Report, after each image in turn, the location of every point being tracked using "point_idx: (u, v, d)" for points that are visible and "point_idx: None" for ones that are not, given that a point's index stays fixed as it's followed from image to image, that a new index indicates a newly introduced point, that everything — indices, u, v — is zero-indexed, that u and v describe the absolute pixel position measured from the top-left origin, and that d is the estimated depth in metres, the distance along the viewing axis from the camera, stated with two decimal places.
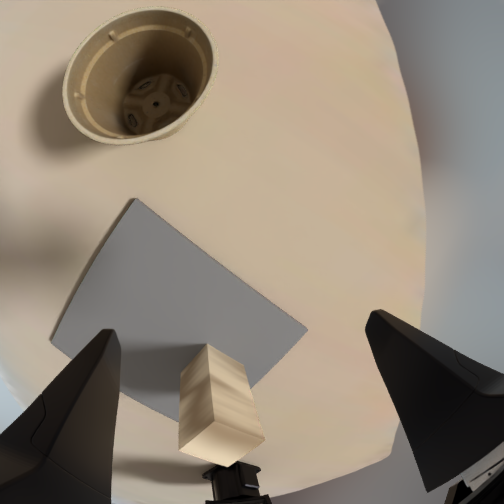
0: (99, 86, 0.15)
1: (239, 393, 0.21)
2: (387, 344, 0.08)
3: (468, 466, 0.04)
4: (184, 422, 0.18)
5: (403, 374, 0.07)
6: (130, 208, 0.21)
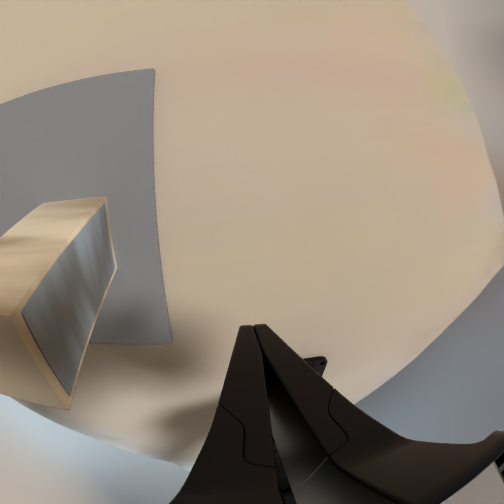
0: None
1: (38, 239, 0.09)
2: None
3: None
4: None
5: (273, 405, 0.07)
6: None
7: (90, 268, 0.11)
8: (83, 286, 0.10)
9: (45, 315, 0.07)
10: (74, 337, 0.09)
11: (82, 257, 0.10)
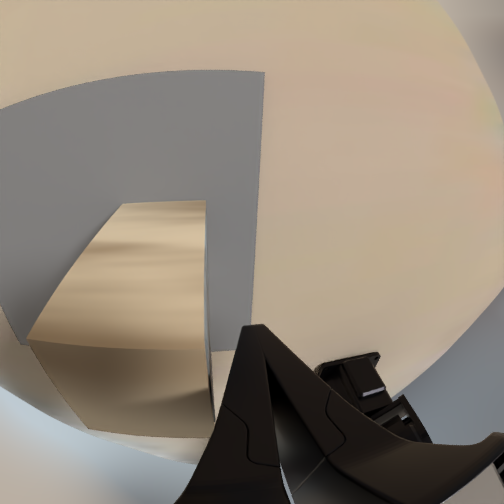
0: None
1: (159, 247, 0.09)
2: None
3: None
4: None
5: (271, 406, 0.07)
6: None
7: (207, 277, 0.12)
8: None
9: None
10: (210, 356, 0.09)
11: None
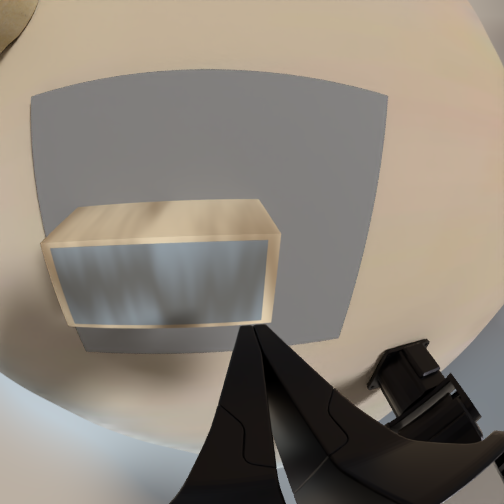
0: None
1: (147, 222, 0.11)
2: None
3: None
4: None
5: (273, 405, 0.07)
6: (32, 111, 0.10)
7: (180, 286, 0.11)
8: (154, 291, 0.11)
9: (73, 268, 0.10)
10: (108, 308, 0.11)
11: (165, 268, 0.11)
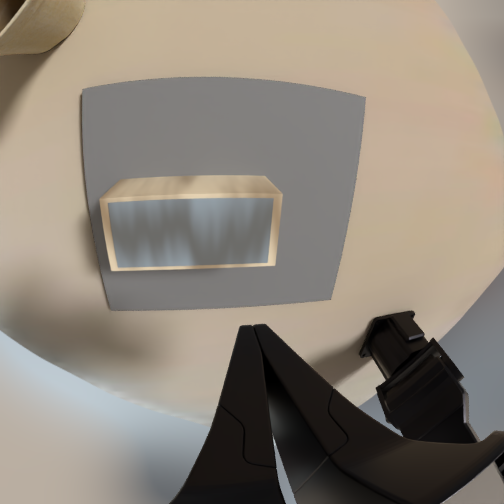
0: None
1: (184, 186, 0.15)
2: None
3: None
4: None
5: (273, 405, 0.07)
6: (83, 101, 0.14)
7: (209, 232, 0.15)
8: (188, 236, 0.15)
9: (126, 218, 0.14)
10: (150, 251, 0.15)
11: (199, 217, 0.15)
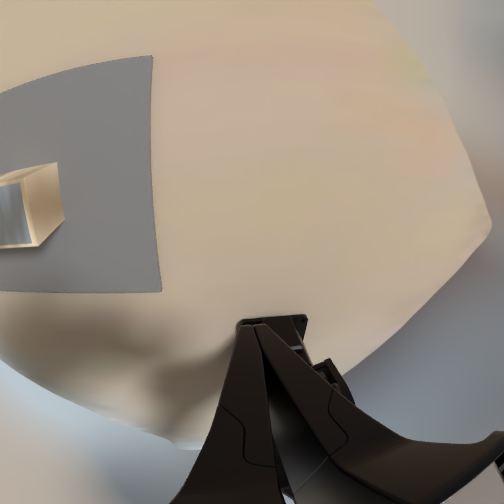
0: None
1: None
2: None
3: None
4: None
5: (273, 405, 0.07)
6: None
7: None
8: None
9: None
10: None
11: None
